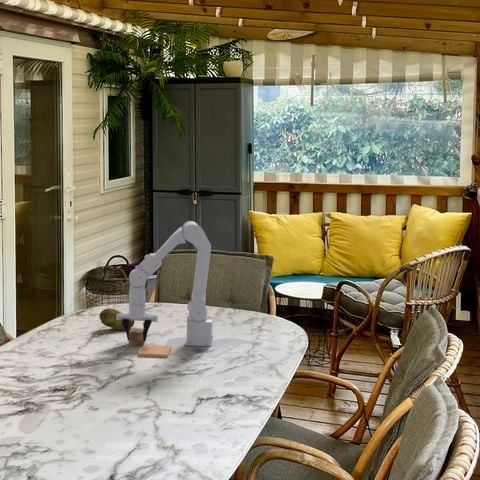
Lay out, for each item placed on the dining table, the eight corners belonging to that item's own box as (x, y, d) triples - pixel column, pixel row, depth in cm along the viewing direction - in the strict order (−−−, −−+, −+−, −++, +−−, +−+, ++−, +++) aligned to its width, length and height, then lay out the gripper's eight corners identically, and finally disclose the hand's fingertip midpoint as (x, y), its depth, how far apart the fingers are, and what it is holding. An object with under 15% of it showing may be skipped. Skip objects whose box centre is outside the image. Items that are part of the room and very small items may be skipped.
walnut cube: (145, 342, 269) (145, 328, 268) (142, 346, 264) (142, 332, 263) (131, 341, 269) (131, 328, 269) (128, 345, 264) (128, 332, 264)
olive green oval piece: (132, 332, 281) (132, 311, 280) (97, 331, 281) (97, 310, 280) (135, 326, 289) (135, 306, 288) (102, 325, 289) (102, 305, 288)
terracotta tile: (171, 348, 262) (171, 346, 262) (167, 357, 252) (167, 354, 252) (143, 347, 263) (143, 344, 263) (138, 356, 253) (138, 353, 253)
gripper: (159, 301, 268) (158, 337, 270) (119, 299, 269) (119, 336, 271) (156, 305, 261) (155, 343, 263) (115, 304, 262) (115, 341, 264)
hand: (136, 340), depth 267 cm, fingers closed on walnut cube, 5 cm apart
